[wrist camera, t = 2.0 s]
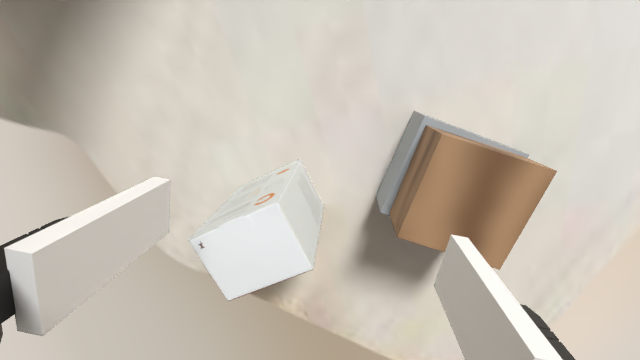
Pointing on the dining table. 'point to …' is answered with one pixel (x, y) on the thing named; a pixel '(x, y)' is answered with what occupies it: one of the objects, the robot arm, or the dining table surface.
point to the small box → (262, 232)
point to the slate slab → (406, 153)
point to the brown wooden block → (467, 195)
